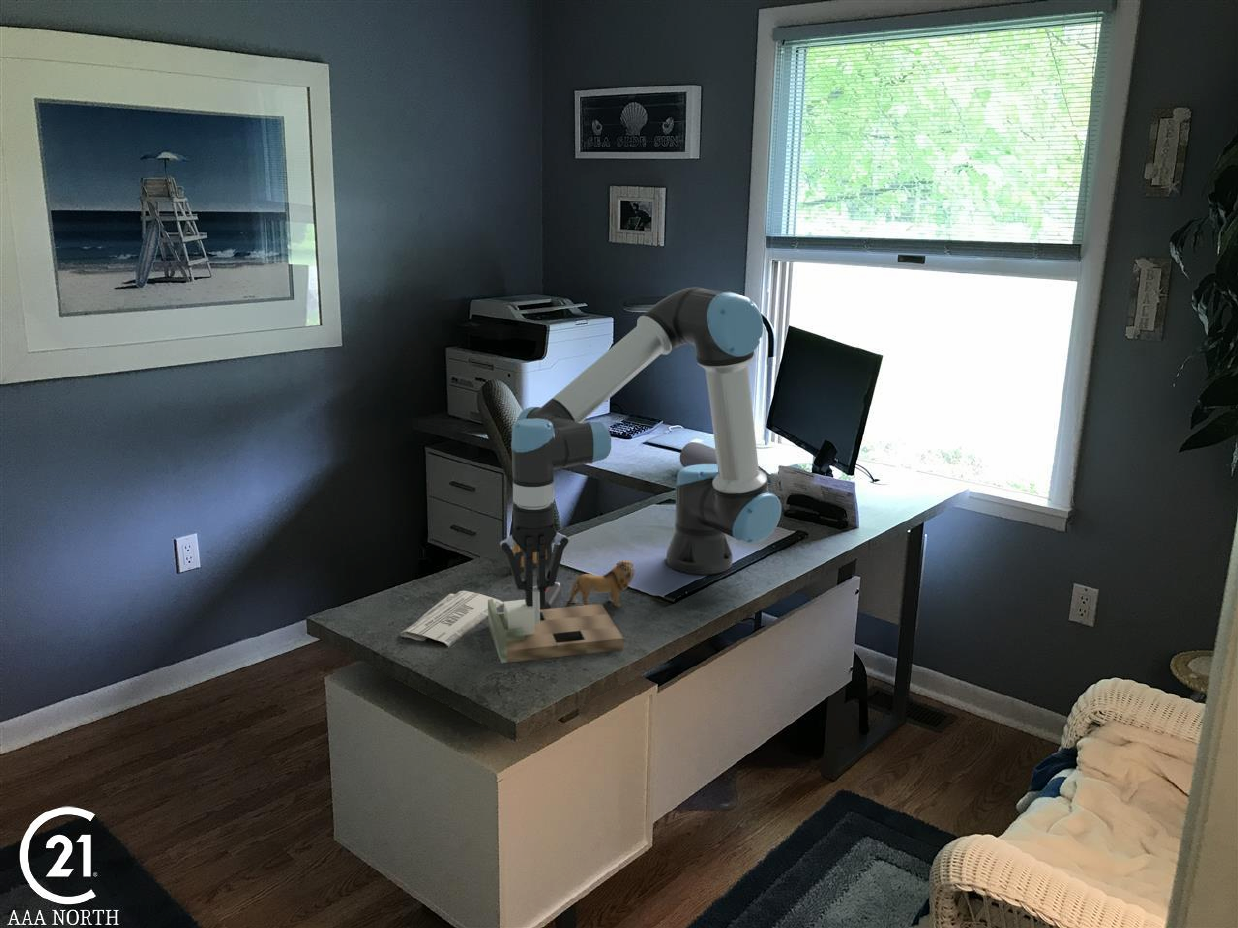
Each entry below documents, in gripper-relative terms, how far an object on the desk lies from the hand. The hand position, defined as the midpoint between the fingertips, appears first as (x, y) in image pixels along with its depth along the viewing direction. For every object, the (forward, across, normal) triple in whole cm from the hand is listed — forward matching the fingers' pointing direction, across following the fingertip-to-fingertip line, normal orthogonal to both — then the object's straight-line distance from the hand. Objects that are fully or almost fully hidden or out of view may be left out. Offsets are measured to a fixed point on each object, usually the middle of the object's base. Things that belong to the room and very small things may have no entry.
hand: (535, 620), depth 192 cm
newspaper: (+5, +15, -13) cm, 20 cm away
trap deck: (+4, -4, 0) cm, 5 cm away
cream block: (+2, +3, 0) cm, 3 cm away
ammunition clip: (+4, -6, -36) cm, 37 cm away
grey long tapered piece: (+5, -69, -88) cm, 112 cm away
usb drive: (+5, -6, -18) cm, 19 cm away
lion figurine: (+4, -17, -14) cm, 22 cm away
